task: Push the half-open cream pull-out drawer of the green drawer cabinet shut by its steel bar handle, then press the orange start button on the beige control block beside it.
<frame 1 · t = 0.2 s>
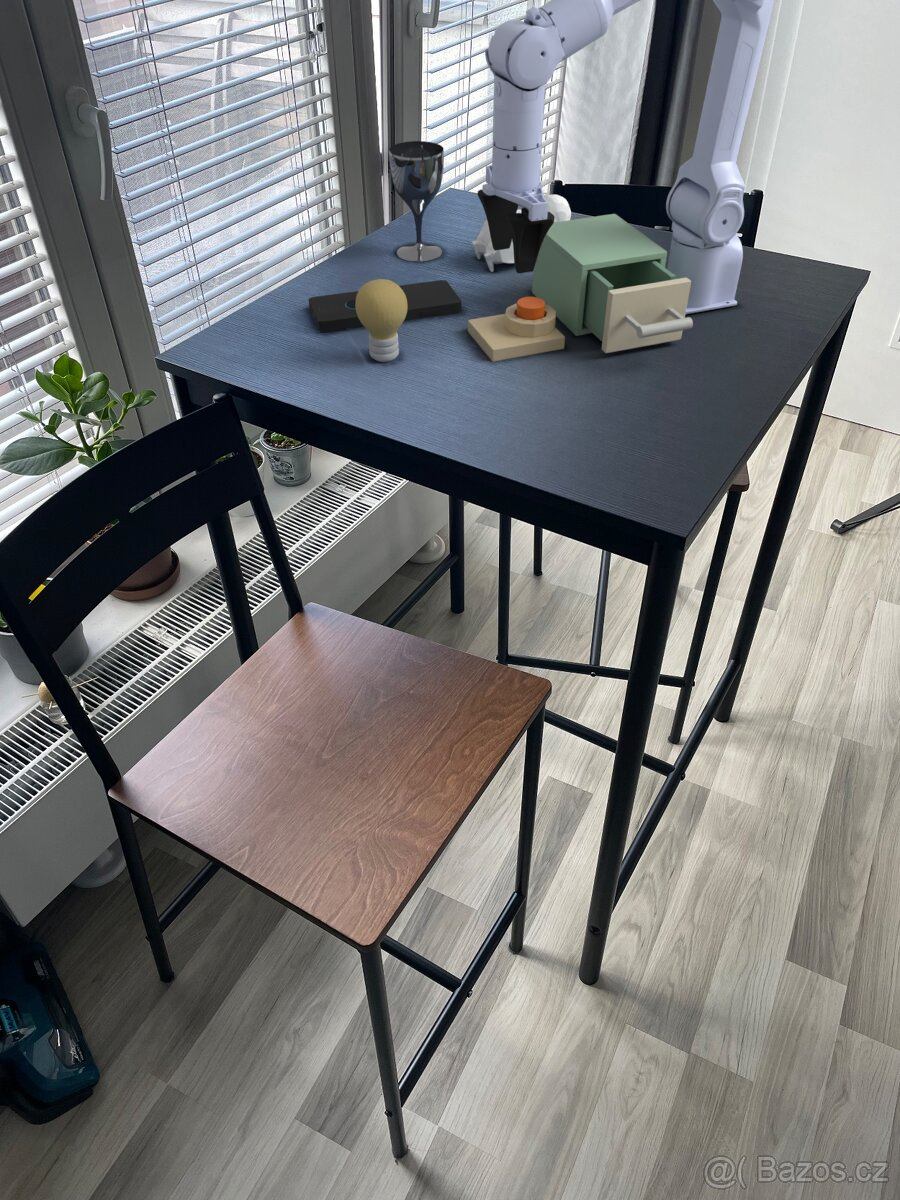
hand: (512, 259, 115), 10 cm above the table, tool pointing down, fingers open, 7 cm apart
light bulb: (384, 358, 118), on the table
smart home device: (385, 312, 128), on the table
control block: (515, 340, 121), on the table
start button: (530, 308, 118), point 4 cm above the table, slide at 0.1 cm
green drawer cabinet: (592, 307, 128), on the table
wine glass: (419, 253, 143), on the table
white pig figurine: (522, 260, 141), on the table
cream pull-out drawer: (631, 303, 118), point 5 cm above the table, slide at 6.0 cm
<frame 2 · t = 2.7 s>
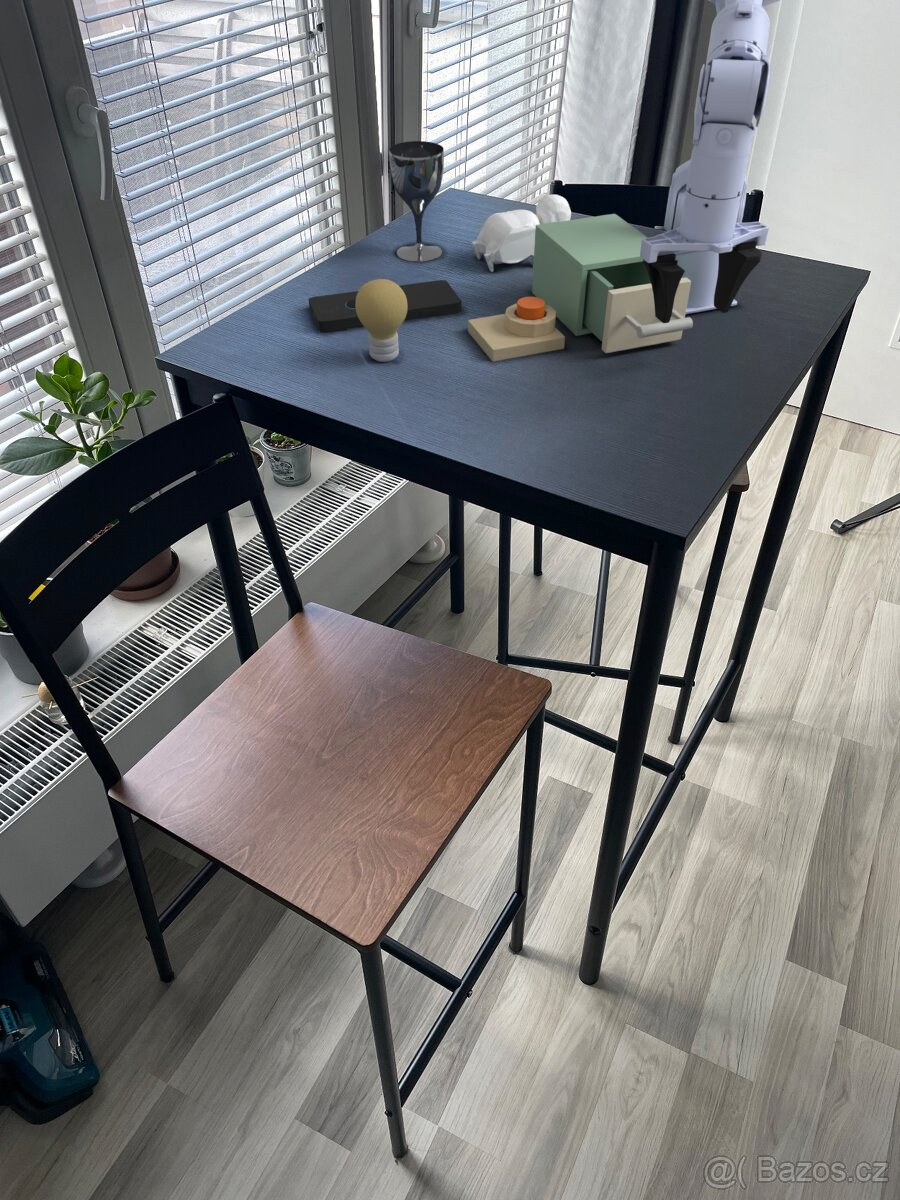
hand: (691, 314, 105), 9 cm above the table, tool pointing down, fingers open, 7 cm apart
nothing on the table moved.
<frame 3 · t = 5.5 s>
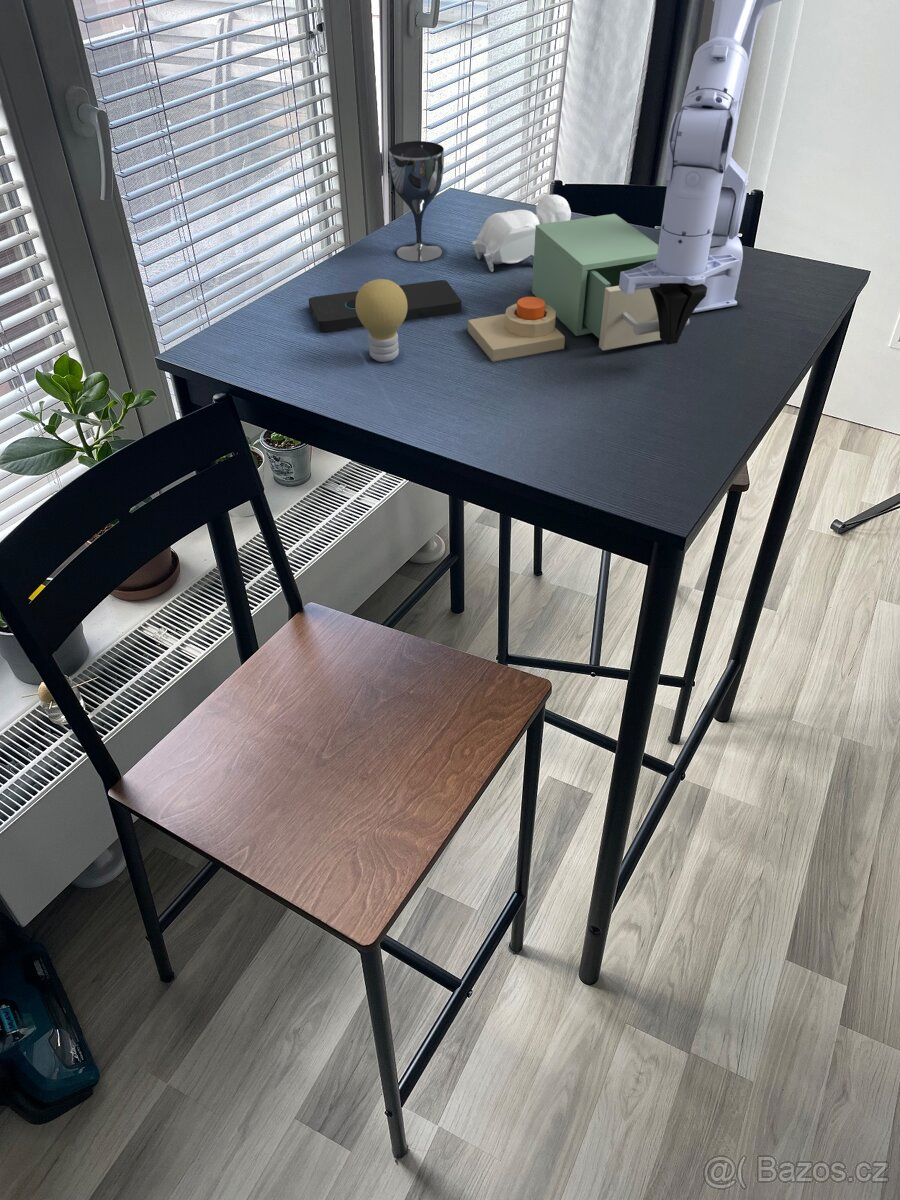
hand: (668, 340, 111), 4 cm above the table, tool pointing down, fingers closed, pressing on cream pull-out drawer
cream pull-out drawer: (628, 300, 118), point 5 cm above the table, slide at 5.2 cm, touching gripper
everything else where it was.
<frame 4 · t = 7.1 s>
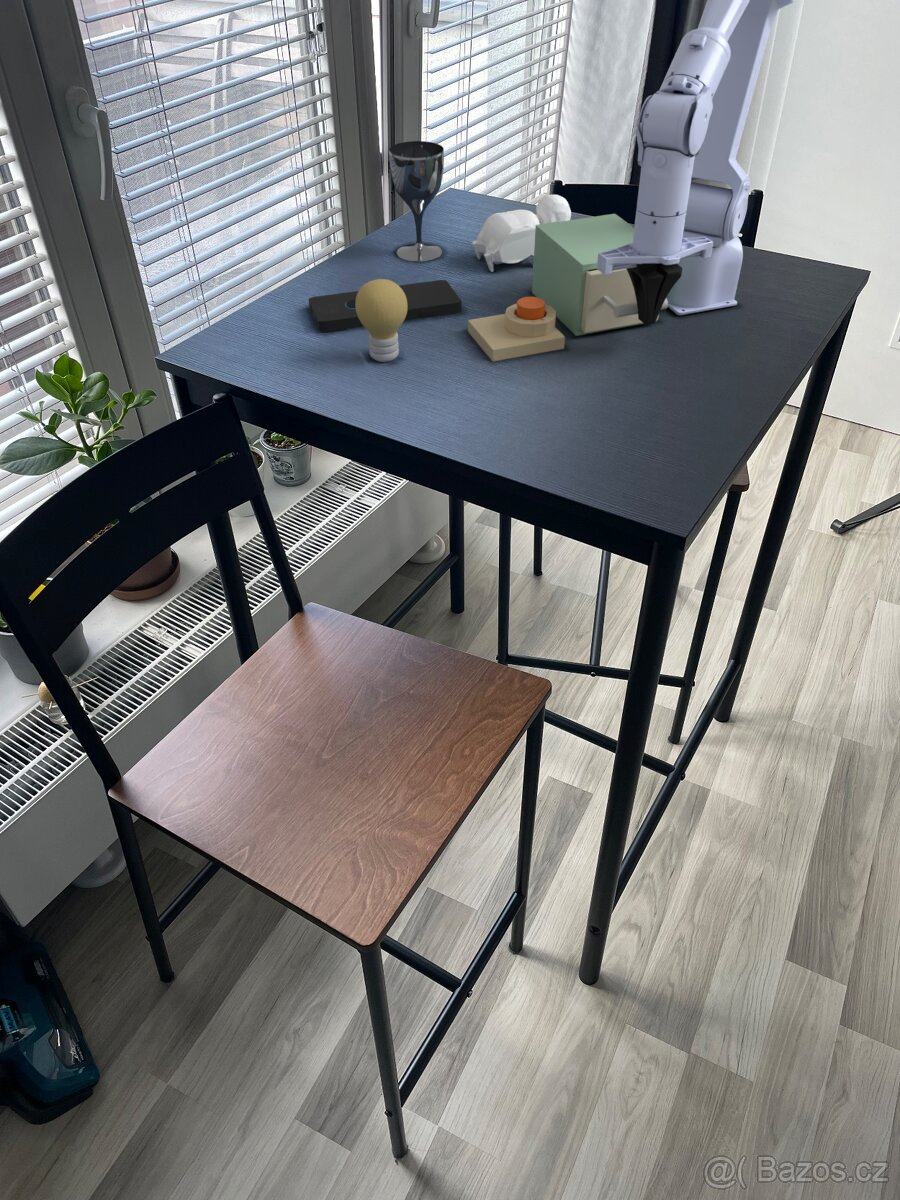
hand: (646, 321, 115), 4 cm above the table, tool pointing down, fingers closed, pressing on cream pull-out drawer
cream pull-out drawer: (609, 285, 122), point 5 cm above the table, slide at 0.0 cm, touching green drawer cabinet, gripper
everything else where it was.
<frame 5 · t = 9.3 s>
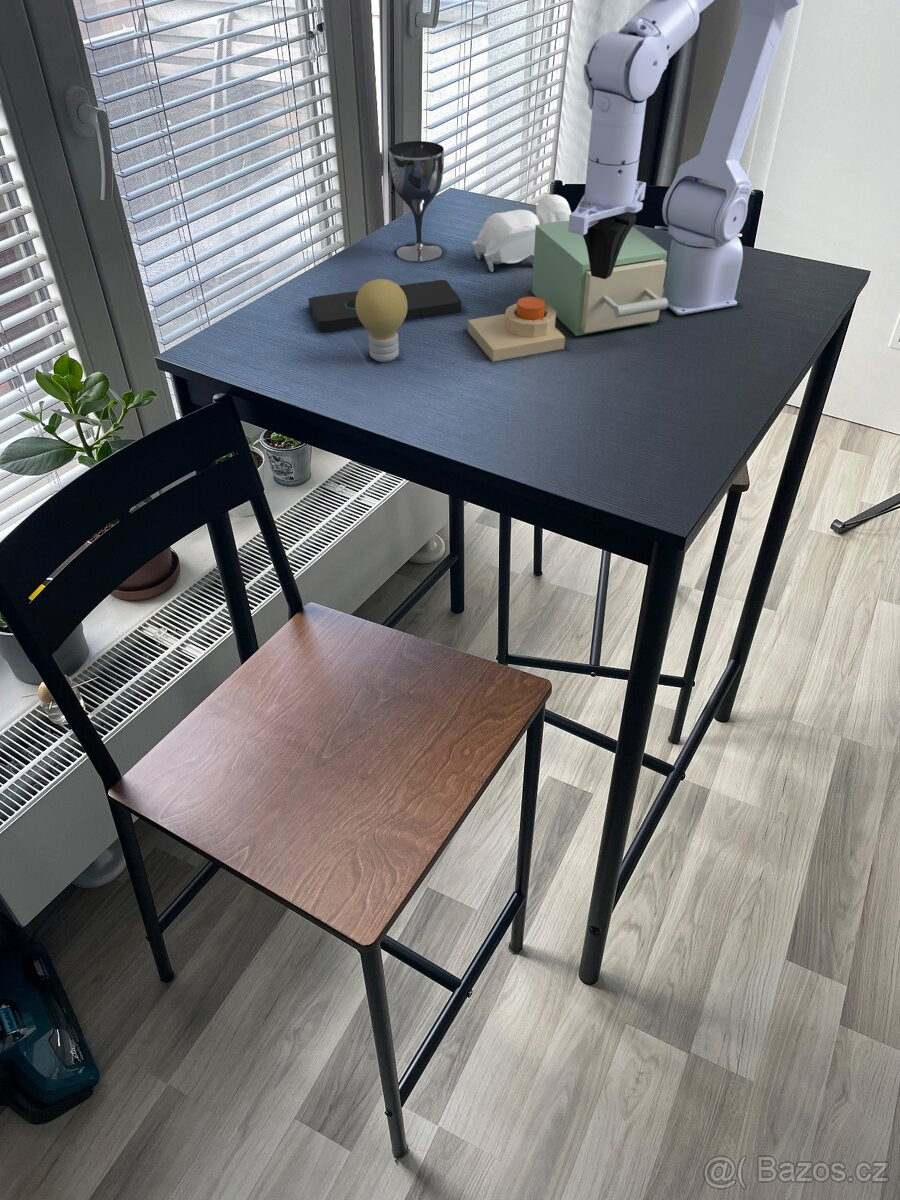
hand: (600, 275, 112), 10 cm above the table, tool pointing down, fingers closed
cream pull-out drawer: (609, 285, 122), point 5 cm above the table, slide at 0.0 cm, touching green drawer cabinet
everything else where it was.
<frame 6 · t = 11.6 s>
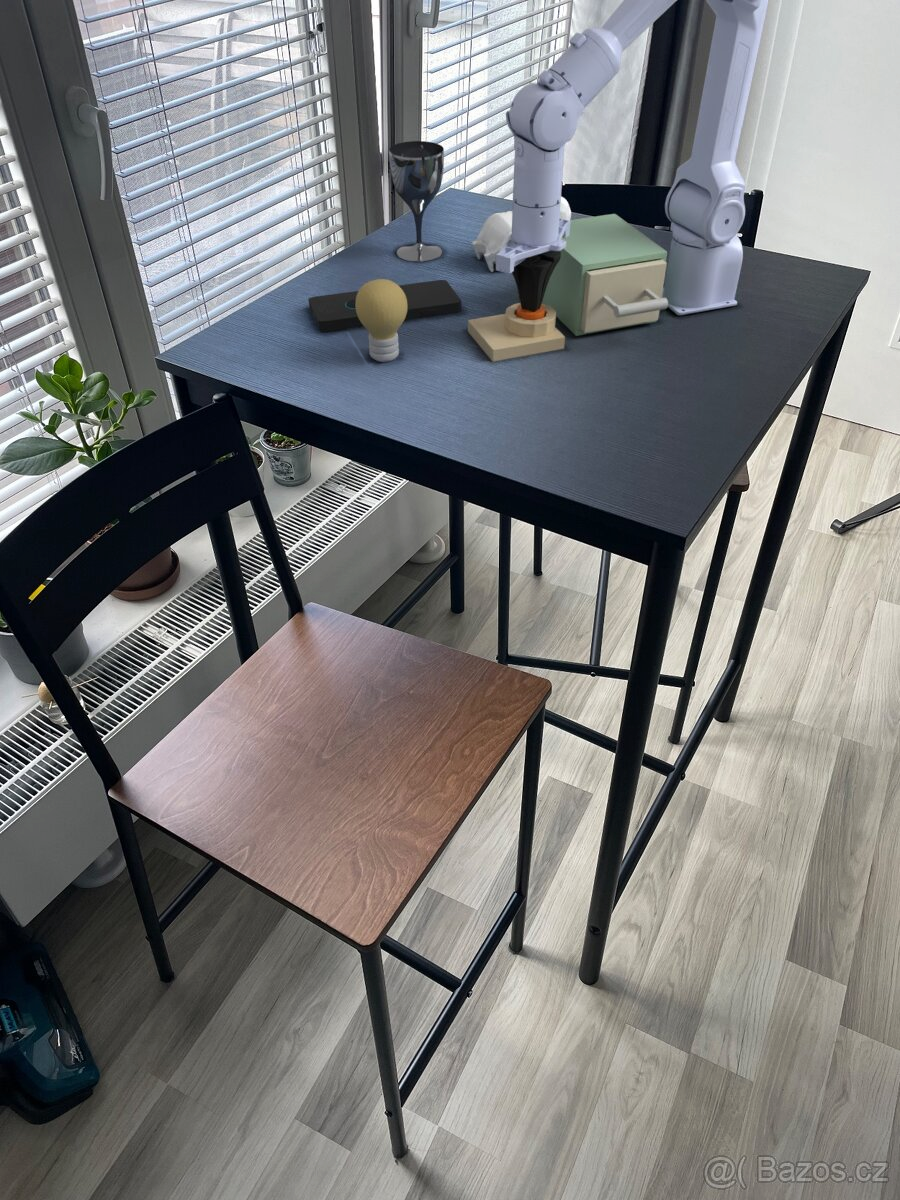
hand: (530, 308, 118), 4 cm above the table, tool pointing down, fingers closed, pressing on start button
start button: (530, 314, 119), point 3 cm above the table, slide at -0.7 cm, touching gripper
everything else where it was.
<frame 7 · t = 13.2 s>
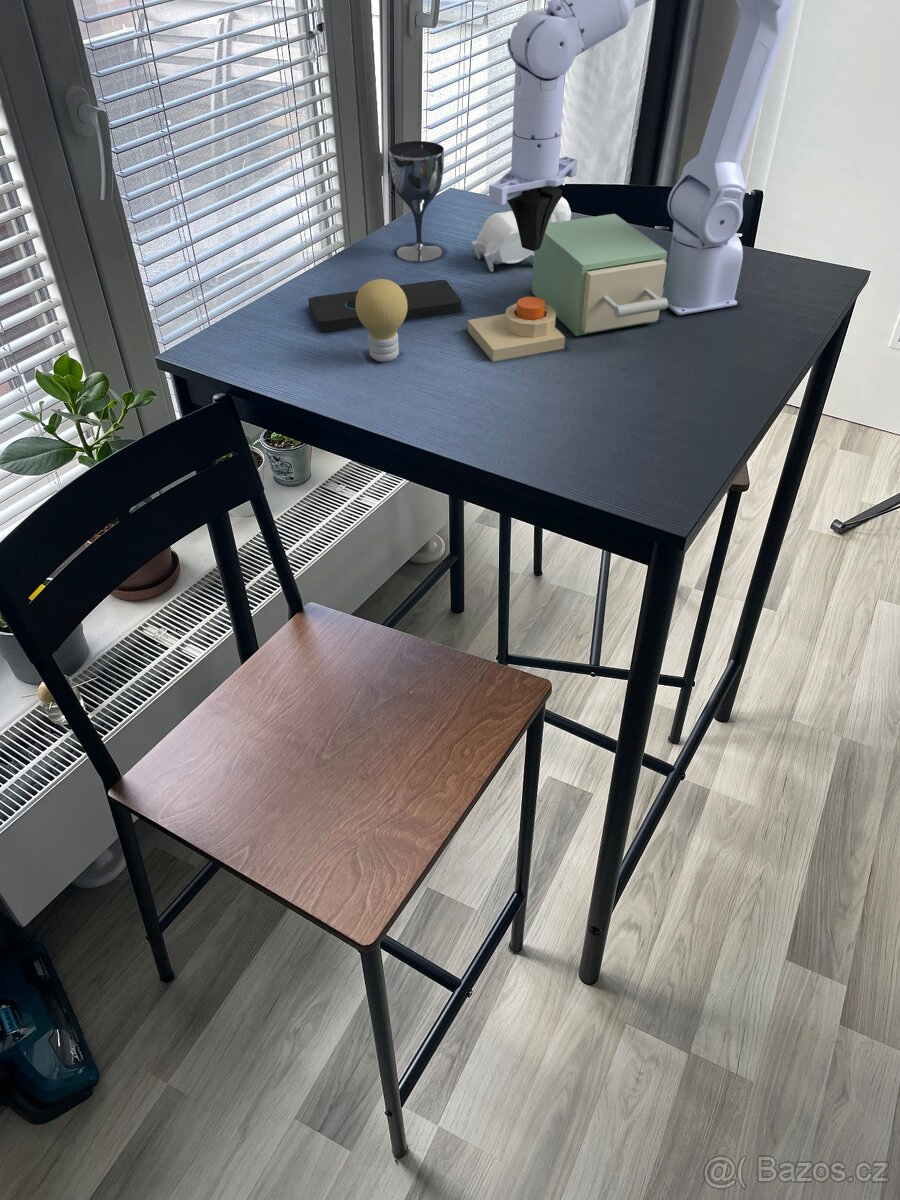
hand: (530, 247, 117), 10 cm above the table, tool pointing down, fingers closed
start button: (530, 308, 118), point 4 cm above the table, slide at 0.1 cm
everything else where it was.
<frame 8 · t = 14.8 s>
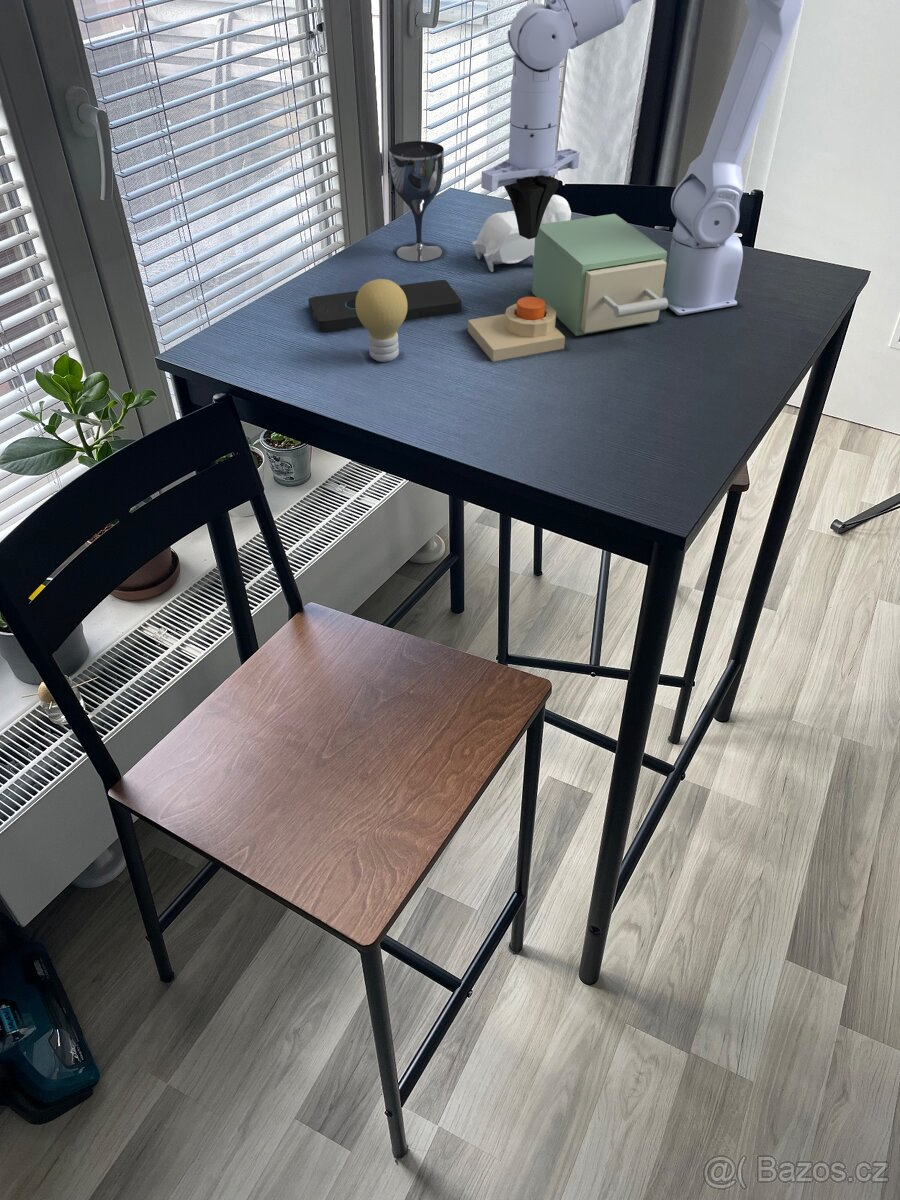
hand: (527, 236, 120), 10 cm above the table, tool pointing down, fingers closed
nothing on the table moved.
at the end: cream pull-out drawer slide at 0.0 cm; start button pushed in 1.2 cm at the most during the clip, back to where it started at the end; start button slide at 0.1 cm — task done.
